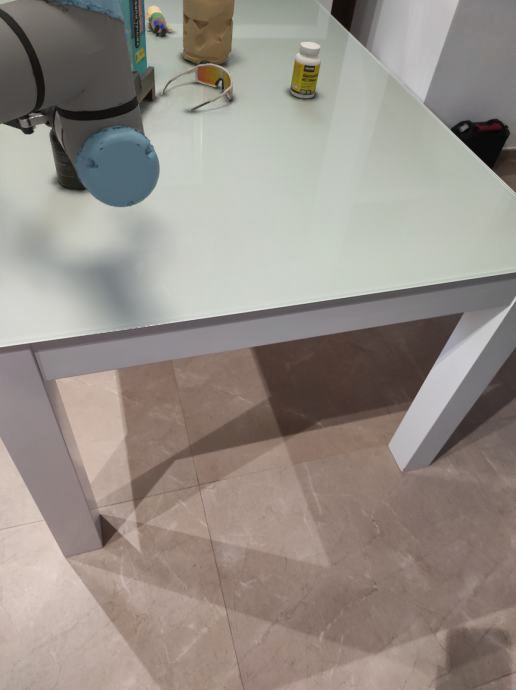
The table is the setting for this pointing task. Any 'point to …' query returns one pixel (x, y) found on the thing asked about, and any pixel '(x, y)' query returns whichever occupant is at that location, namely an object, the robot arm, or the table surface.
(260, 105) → the table surface
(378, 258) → the table surface
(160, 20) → the toy figurine
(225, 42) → the container
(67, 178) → the supplement bottle
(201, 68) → the sunglasses
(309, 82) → the pill bottle
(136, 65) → the game box
